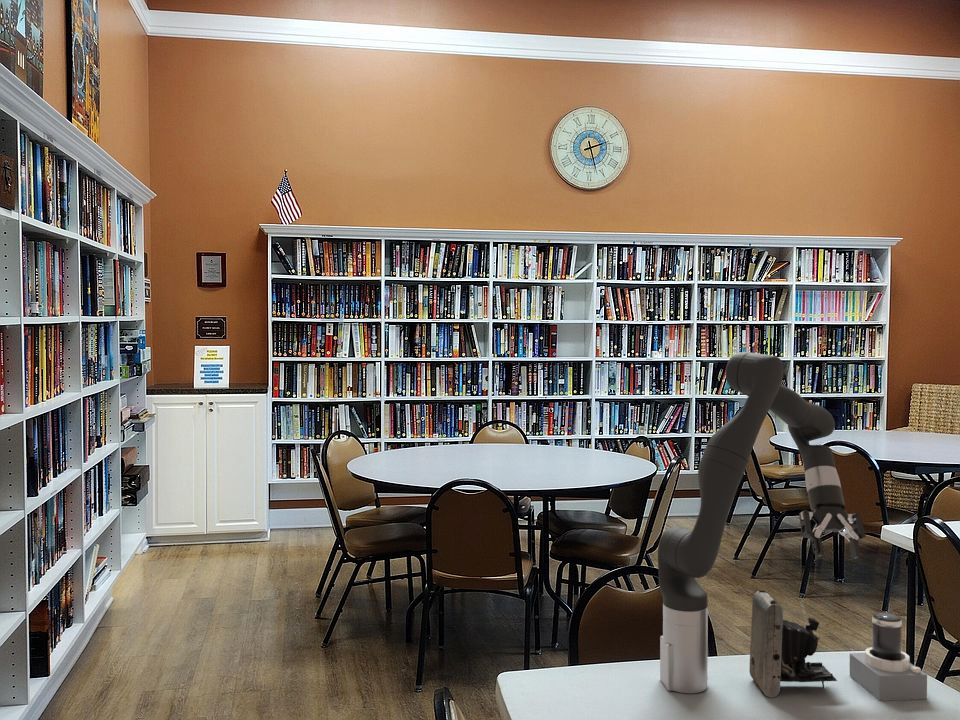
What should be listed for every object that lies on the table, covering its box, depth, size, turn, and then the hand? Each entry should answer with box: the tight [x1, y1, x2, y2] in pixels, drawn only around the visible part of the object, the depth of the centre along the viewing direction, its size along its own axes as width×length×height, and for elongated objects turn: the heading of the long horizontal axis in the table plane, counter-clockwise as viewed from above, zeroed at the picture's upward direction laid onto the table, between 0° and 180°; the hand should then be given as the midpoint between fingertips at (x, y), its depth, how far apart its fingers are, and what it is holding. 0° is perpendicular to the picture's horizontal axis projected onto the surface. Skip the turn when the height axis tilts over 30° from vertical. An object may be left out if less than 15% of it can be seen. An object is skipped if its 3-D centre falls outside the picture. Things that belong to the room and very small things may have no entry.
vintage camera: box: [749, 589, 838, 698], centre depth 172 cm, size 10×16×20 cm, turn 89°
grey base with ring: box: [849, 646, 928, 701], centre depth 173 cm, size 10×12×7 cm
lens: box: [871, 611, 903, 661], centre depth 173 cm, size 6×6×10 cm
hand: (838, 556), depth 186 cm, fingers open, 8 cm apart
